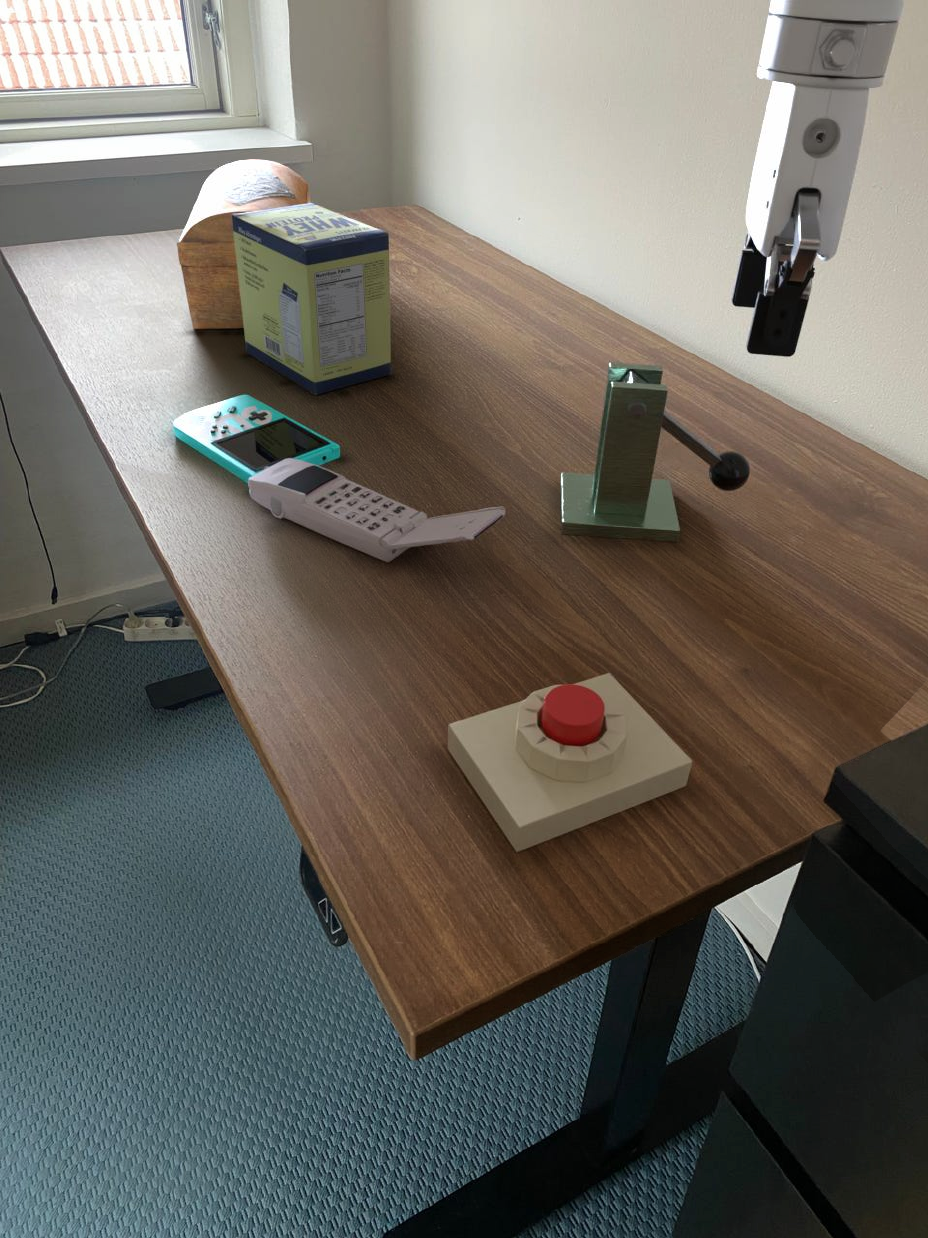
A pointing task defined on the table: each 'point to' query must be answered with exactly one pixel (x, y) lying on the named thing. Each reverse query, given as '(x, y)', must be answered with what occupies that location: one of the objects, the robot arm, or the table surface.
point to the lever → (706, 451)
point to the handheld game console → (251, 436)
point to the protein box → (314, 295)
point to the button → (572, 715)
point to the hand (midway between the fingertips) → (760, 328)
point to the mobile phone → (358, 511)
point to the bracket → (624, 466)
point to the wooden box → (228, 235)
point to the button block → (565, 765)
